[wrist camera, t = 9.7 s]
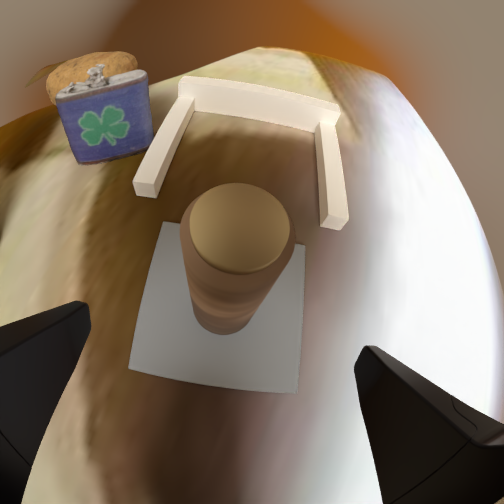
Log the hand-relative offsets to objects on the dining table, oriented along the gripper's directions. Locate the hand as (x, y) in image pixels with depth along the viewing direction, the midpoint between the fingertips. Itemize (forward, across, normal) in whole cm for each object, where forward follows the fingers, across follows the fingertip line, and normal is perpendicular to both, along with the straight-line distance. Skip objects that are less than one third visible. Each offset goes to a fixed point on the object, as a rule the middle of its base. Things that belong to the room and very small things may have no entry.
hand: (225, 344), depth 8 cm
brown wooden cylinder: (+11, 0, +5) cm, 12 cm away
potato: (+28, +22, -11) cm, 37 cm away
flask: (+21, +14, -4) cm, 26 cm away
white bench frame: (+23, 0, -6) cm, 24 cm away
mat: (+11, 0, +5) cm, 12 cm away
